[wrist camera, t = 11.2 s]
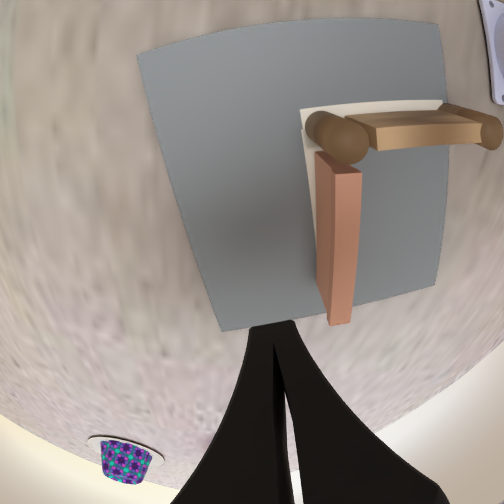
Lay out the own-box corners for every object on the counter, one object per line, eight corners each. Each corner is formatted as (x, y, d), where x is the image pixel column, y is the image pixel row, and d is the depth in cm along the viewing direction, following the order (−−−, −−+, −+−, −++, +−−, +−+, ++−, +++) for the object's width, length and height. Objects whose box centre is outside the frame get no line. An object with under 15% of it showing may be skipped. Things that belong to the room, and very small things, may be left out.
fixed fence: (452, 102, 15) (503, 116, 11) (453, 129, 16) (502, 149, 11) (300, 111, 15) (325, 124, 11) (305, 143, 16) (330, 167, 12)
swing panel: (312, 151, 16) (335, 174, 12) (334, 150, 16) (362, 172, 12) (314, 282, 20) (329, 326, 17) (332, 280, 20) (349, 322, 17)
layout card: (434, 24, 12) (438, 24, 12) (432, 282, 22) (435, 285, 21) (138, 55, 13) (135, 55, 13) (221, 328, 23) (221, 332, 22)
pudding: (76, 438, 36) (69, 466, 31) (112, 426, 32) (105, 460, 28) (136, 466, 41) (133, 492, 37) (181, 457, 38) (179, 487, 33)
